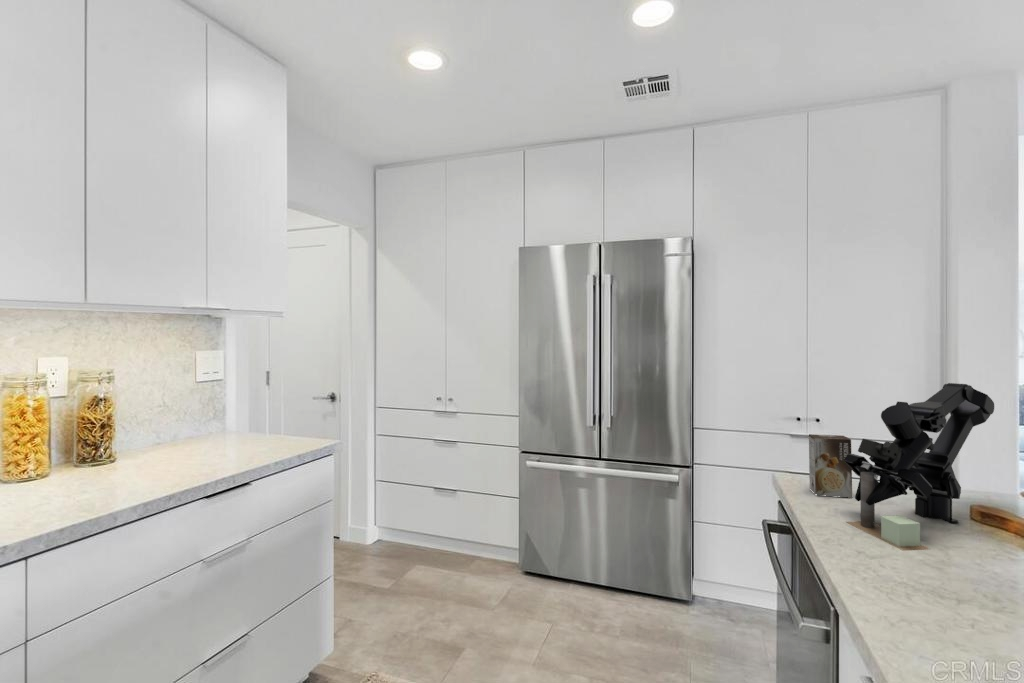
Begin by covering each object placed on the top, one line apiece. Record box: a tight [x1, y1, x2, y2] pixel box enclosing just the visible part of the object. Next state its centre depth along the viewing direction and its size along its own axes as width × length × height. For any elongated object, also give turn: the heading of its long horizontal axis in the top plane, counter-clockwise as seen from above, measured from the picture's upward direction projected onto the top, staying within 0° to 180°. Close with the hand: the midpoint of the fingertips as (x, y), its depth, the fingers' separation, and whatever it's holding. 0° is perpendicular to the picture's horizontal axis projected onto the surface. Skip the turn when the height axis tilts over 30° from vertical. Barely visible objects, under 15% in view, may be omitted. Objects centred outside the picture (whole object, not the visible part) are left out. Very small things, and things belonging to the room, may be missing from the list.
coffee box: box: [808, 433, 853, 499], centre depth 144 cm, size 9×6×16 cm
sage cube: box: [880, 515, 921, 547], centre depth 108 cm, size 5×5×5 cm
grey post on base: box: [845, 472, 930, 551], centre depth 112 cm, size 6×16×13 cm, turn 4°
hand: (861, 501), depth 117 cm, fingers closed on grey post on base, 3 cm apart
